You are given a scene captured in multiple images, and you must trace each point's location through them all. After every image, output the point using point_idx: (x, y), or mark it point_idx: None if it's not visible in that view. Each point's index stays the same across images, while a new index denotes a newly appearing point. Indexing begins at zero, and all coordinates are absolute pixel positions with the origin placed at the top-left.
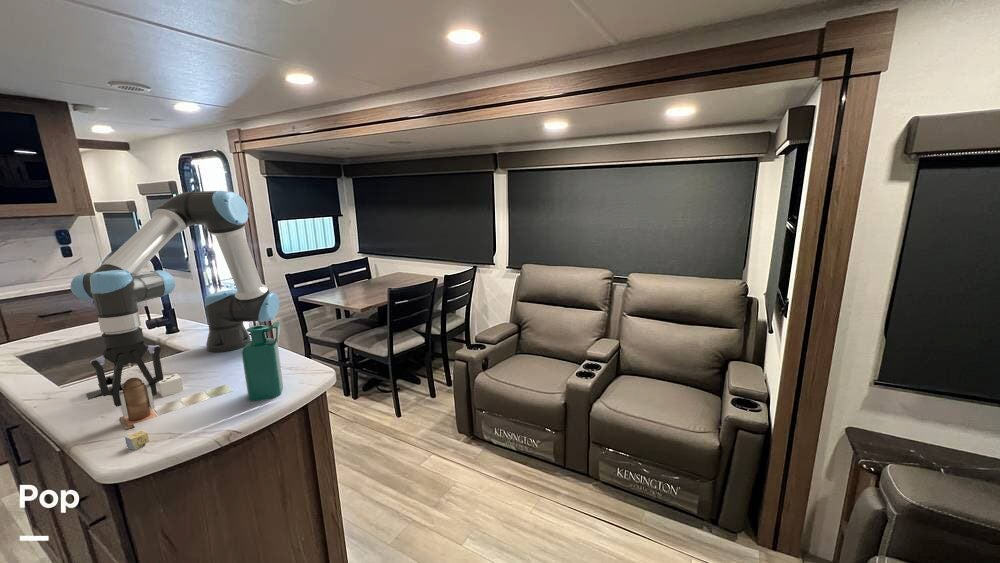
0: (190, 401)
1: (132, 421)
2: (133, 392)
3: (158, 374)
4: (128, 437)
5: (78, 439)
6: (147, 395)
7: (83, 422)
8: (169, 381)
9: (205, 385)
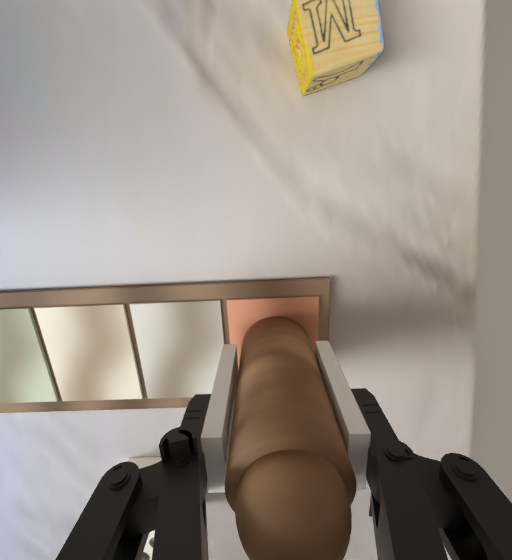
0: (106, 341)
1: (302, 322)
2: (299, 415)
3: (104, 529)
4: (375, 16)
5: (451, 332)
6: (232, 412)
7: None
8: None
9: (59, 461)
